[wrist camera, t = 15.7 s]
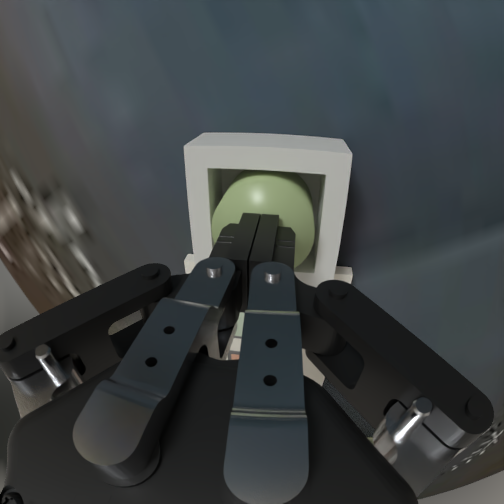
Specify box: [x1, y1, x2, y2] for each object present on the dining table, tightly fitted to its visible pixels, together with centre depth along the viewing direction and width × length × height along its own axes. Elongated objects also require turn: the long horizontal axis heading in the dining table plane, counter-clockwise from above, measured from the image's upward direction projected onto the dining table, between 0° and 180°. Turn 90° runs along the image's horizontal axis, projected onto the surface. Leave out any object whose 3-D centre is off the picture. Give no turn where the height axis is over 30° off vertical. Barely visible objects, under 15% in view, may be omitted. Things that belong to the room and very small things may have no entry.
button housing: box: [184, 133, 352, 288], centre depth 15 cm, size 7×7×3 cm
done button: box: [211, 169, 315, 268], centre depth 14 cm, size 4×4×3 cm
